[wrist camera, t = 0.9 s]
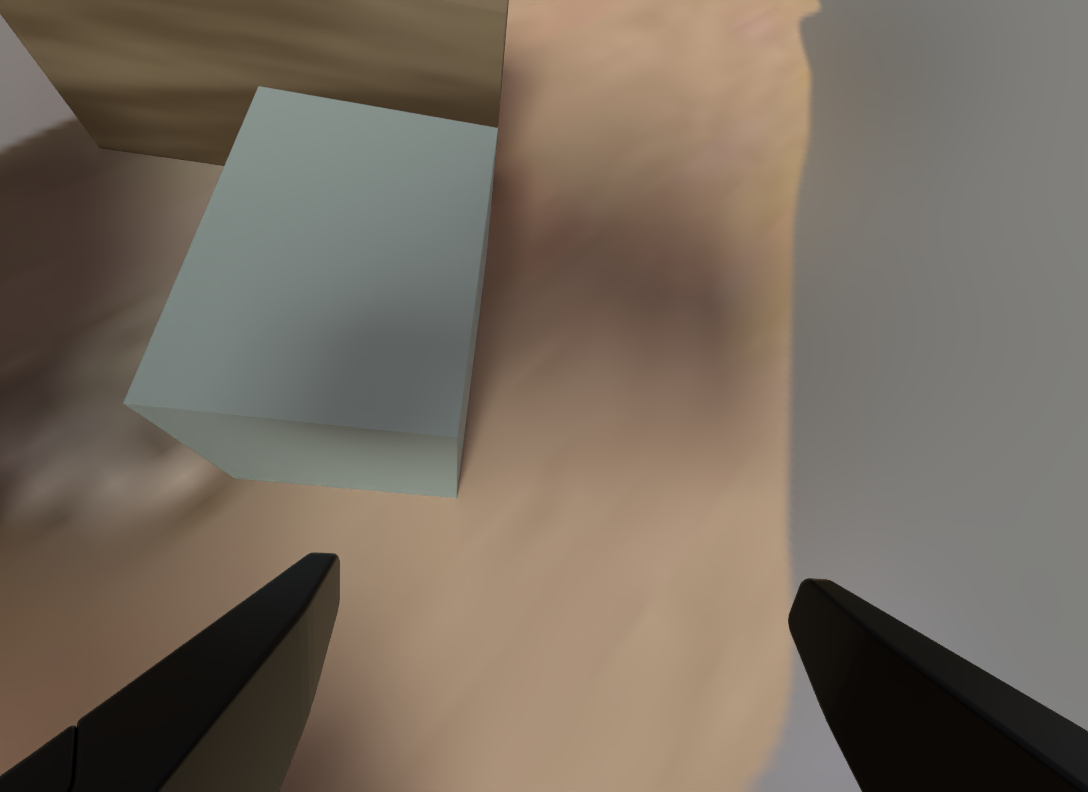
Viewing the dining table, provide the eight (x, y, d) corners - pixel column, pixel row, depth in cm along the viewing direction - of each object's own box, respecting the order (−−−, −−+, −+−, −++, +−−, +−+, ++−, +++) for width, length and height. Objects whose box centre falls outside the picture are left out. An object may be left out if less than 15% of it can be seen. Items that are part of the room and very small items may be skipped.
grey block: (456, 499, 22) (457, 437, 15) (235, 479, 21) (123, 403, 14) (486, 258, 28) (497, 127, 21) (311, 232, 27) (258, 86, 19)
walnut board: (490, 204, 29) (506, 12, 20) (99, 147, 27) (-84, -100, 18) (494, 171, 30) (510, -25, 21) (118, 114, 28) (-46, -136, 19)
